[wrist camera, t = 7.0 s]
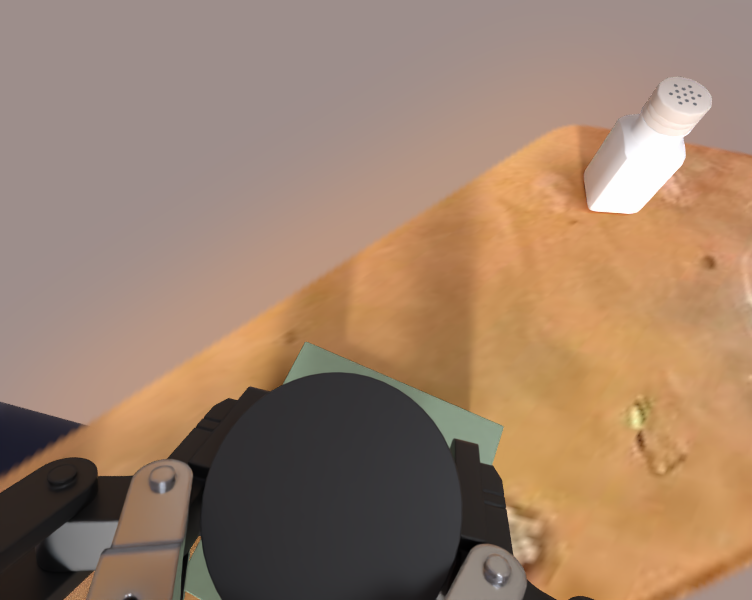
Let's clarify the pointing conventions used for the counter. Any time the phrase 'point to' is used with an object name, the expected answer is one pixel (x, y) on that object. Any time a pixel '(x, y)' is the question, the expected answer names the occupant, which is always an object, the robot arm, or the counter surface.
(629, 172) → the salt shaker
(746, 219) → the counter surface
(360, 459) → the dark grey cylinder
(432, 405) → the sage green hollow block
